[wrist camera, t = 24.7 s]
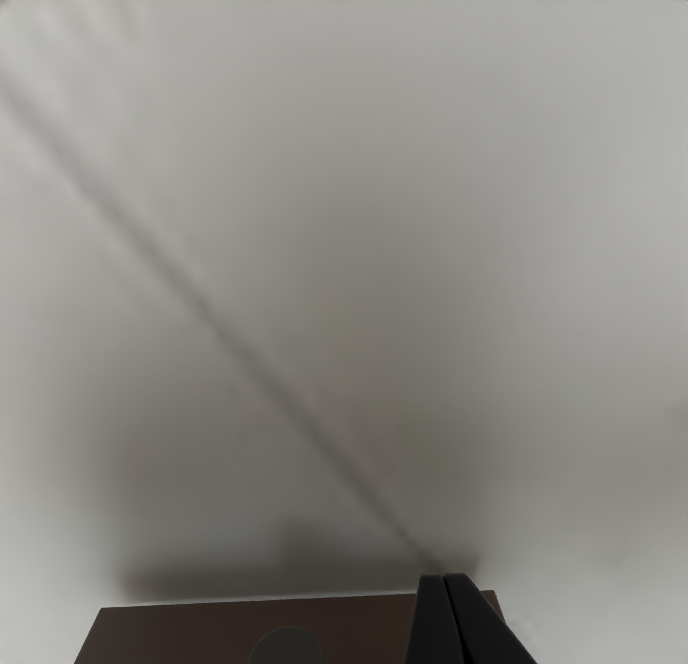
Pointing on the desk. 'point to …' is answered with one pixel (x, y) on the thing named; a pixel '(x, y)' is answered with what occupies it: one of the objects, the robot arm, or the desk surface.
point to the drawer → (257, 632)
